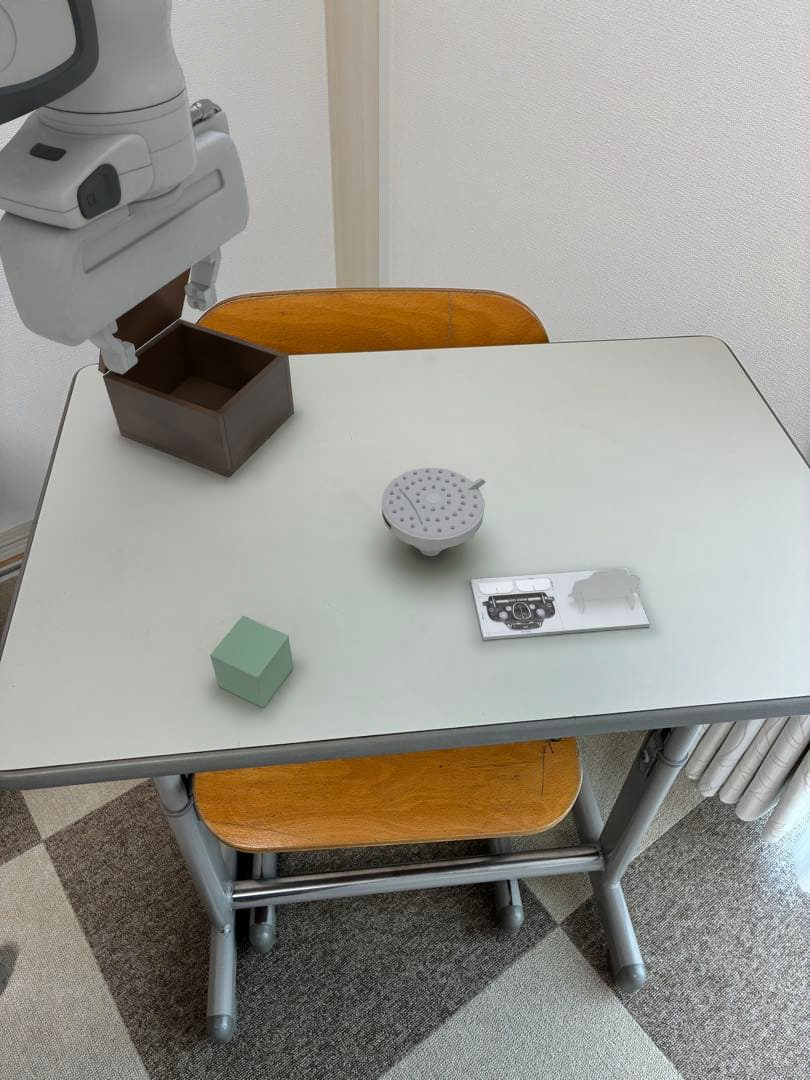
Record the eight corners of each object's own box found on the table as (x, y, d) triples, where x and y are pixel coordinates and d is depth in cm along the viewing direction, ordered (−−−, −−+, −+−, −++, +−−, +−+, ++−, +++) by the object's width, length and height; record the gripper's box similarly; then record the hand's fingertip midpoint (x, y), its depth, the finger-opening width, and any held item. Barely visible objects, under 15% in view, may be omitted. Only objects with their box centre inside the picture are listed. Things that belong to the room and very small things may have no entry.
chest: (294, 412, 91) (288, 354, 85) (229, 477, 83) (217, 418, 78) (191, 376, 96) (179, 318, 90) (120, 435, 88) (102, 376, 82)
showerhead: (510, 510, 71) (408, 544, 68) (501, 564, 76) (406, 597, 73) (461, 447, 76) (365, 475, 73) (456, 501, 82) (366, 529, 79)
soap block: (263, 708, 65) (257, 677, 61) (218, 686, 66) (209, 655, 63) (293, 667, 67) (289, 635, 64) (249, 647, 69) (242, 615, 66)
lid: (203, 203, 77) (161, 173, 77) (115, 259, 70) (68, 224, 70) (181, 317, 90) (144, 290, 90) (104, 374, 82) (63, 345, 82)
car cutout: (626, 570, 76) (637, 538, 72) (648, 626, 71) (661, 594, 68) (470, 582, 74) (474, 549, 71) (482, 640, 70) (487, 608, 66)
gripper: (184, 82, 57) (213, 265, 67) (-46, 188, 44) (33, 394, 54) (258, 98, 55) (277, 283, 65) (41, 213, 42) (106, 422, 52)
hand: (164, 335), depth 59 cm, fingers open, 8 cm apart
